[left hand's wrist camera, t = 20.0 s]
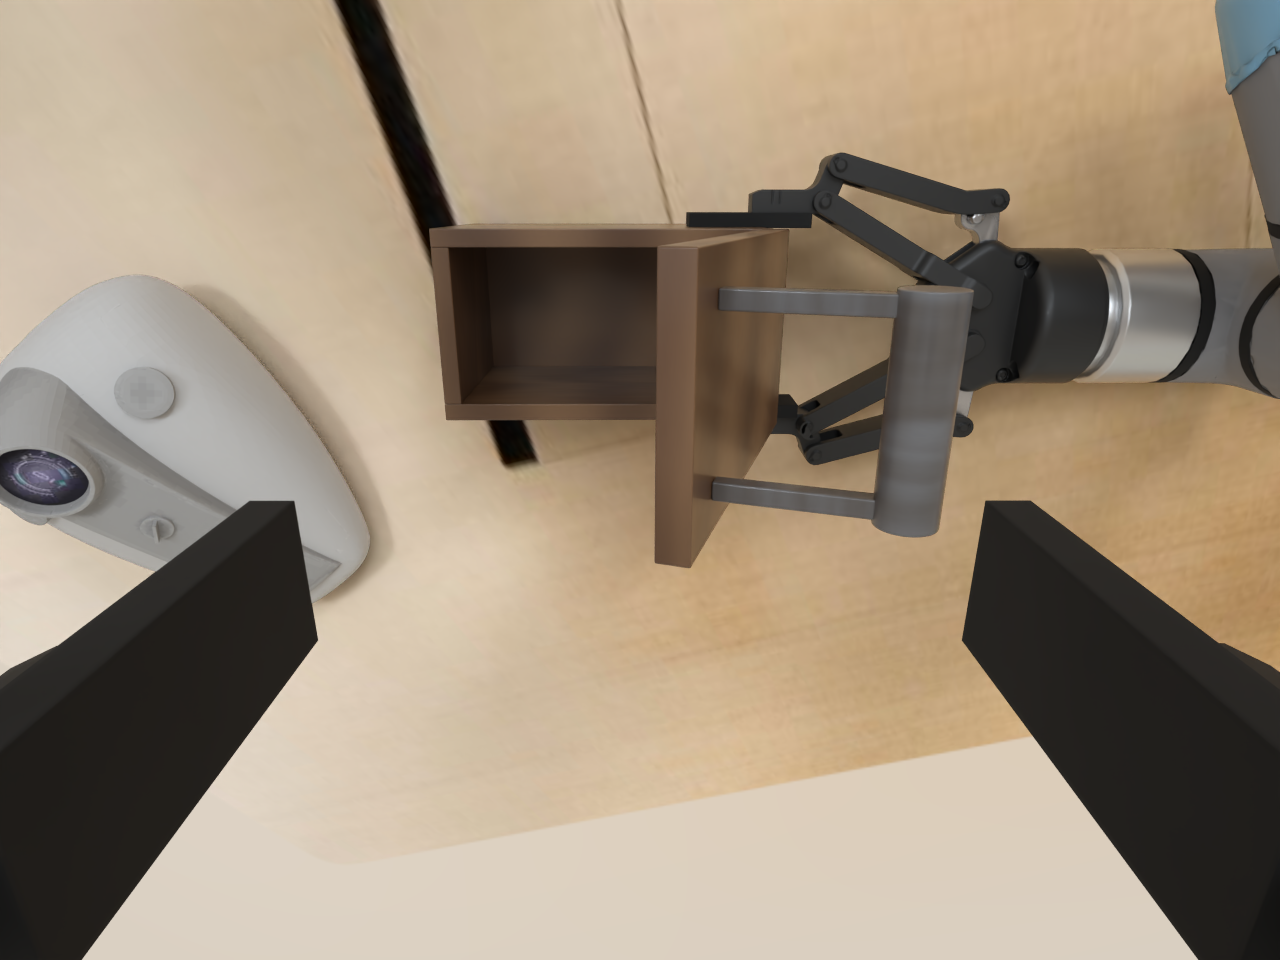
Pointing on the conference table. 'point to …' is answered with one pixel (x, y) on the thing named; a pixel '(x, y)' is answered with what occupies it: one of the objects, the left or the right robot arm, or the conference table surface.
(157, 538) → the projector
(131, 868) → the left robot arm
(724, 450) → the lid
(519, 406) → the chest
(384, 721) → the conference table surface
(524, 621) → the conference table surface
